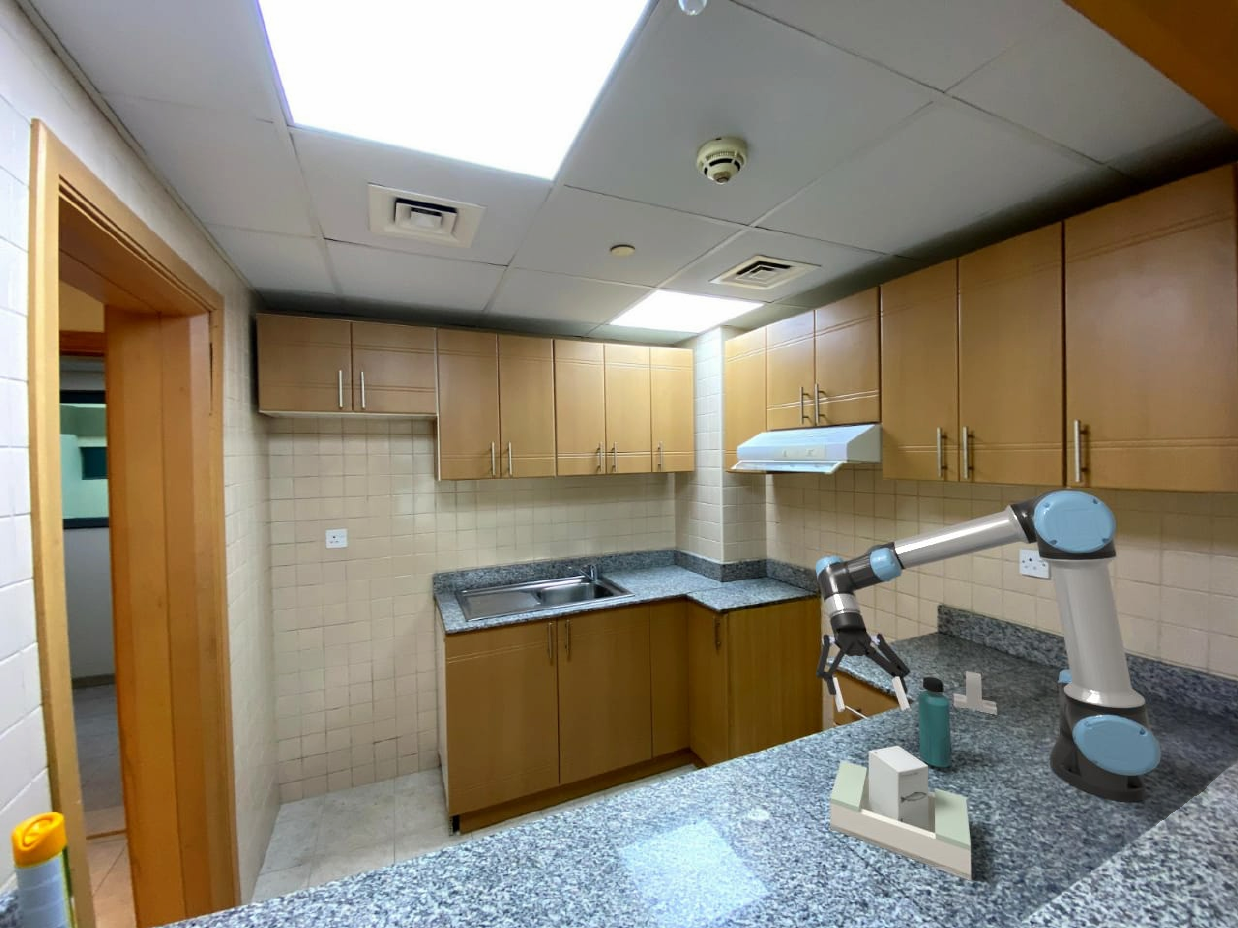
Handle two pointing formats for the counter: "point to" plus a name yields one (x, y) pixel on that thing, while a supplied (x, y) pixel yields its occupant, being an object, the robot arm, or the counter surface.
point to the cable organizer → (974, 696)
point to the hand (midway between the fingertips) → (873, 710)
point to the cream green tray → (904, 824)
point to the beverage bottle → (934, 724)
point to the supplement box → (898, 786)
